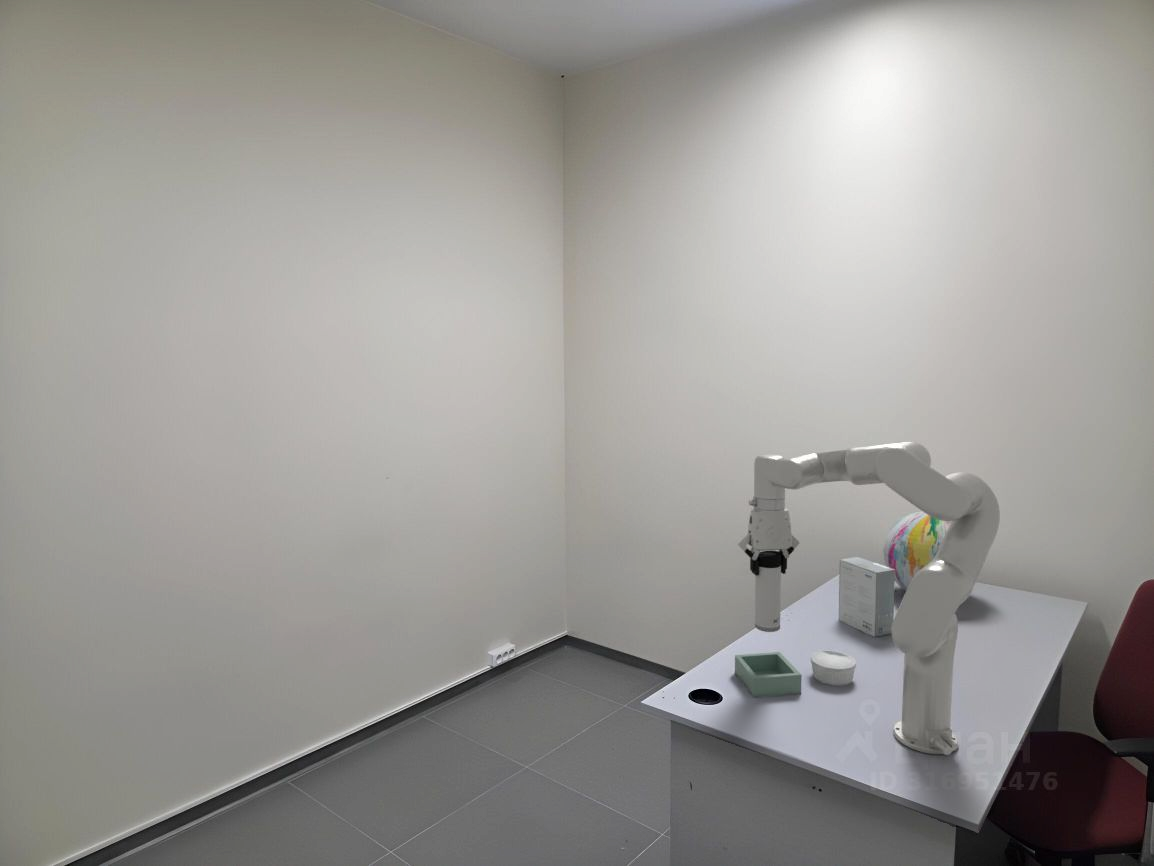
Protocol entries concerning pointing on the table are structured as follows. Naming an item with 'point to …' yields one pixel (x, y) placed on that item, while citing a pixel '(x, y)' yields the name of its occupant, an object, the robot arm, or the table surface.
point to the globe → (913, 545)
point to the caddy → (767, 674)
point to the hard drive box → (866, 596)
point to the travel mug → (768, 591)
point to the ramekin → (833, 667)
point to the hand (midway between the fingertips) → (768, 572)
